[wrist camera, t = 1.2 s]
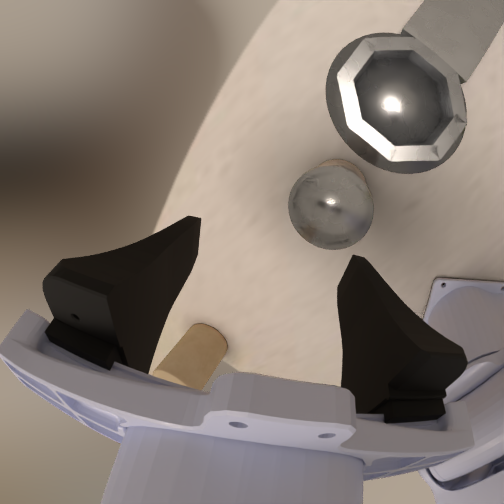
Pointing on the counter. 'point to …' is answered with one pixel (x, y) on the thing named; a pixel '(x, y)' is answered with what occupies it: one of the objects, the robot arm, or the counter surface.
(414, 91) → the grey piece
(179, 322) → the counter surface
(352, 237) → the metal knob
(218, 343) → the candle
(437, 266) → the counter surface
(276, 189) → the counter surface
